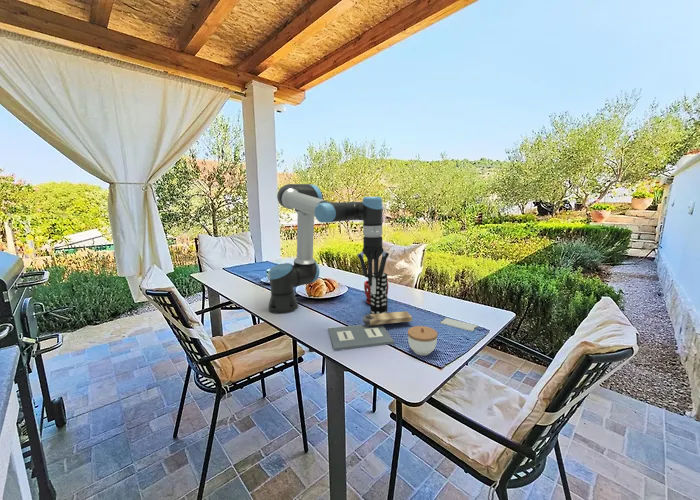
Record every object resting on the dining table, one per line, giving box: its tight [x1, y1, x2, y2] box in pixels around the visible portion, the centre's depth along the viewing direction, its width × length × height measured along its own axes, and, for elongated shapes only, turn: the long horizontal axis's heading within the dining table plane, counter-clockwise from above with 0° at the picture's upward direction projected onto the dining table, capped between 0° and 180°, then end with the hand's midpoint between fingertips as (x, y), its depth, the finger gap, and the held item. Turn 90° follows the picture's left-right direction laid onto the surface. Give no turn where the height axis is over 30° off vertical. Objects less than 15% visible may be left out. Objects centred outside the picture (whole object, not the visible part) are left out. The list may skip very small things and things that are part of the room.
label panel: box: [328, 323, 395, 351], centre depth 123 cm, size 18×24×2 cm
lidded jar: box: [407, 325, 438, 357], centre depth 109 cm, size 11×11×9 cm
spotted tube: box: [370, 272, 388, 314], centre depth 145 cm, size 8×8×20 cm
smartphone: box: [439, 317, 479, 332], centre depth 132 cm, size 7×1×15 cm
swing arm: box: [362, 310, 413, 325], centre depth 132 cm, size 22×7×3 cm, turn 99°
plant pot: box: [363, 280, 389, 306], centre depth 161 cm, size 13×13×12 cm
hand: (373, 293), depth 121 cm, fingers closed
